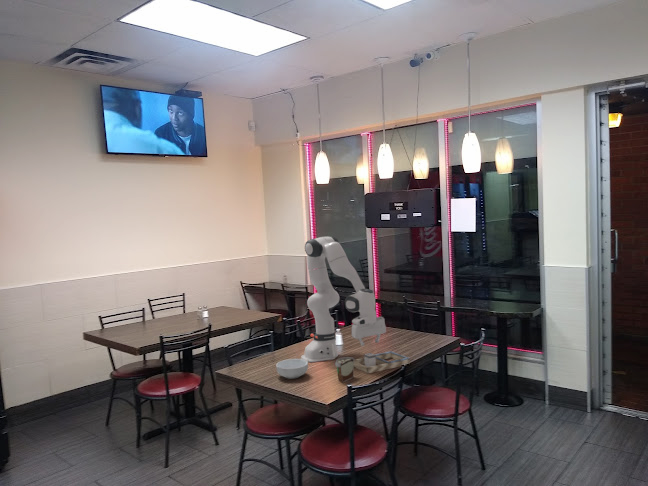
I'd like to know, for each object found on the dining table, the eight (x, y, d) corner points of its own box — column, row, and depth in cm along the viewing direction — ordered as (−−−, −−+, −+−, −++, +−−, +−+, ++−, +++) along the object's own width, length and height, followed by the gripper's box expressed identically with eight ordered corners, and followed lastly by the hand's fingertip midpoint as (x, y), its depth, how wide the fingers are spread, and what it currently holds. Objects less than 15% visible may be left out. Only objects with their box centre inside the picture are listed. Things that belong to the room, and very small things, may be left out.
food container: (345, 374, 254) (344, 355, 253) (355, 376, 250) (354, 357, 250) (331, 381, 244) (330, 361, 244) (340, 383, 241) (339, 363, 240)
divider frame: (367, 373, 253) (367, 367, 253) (351, 365, 269) (351, 359, 268) (409, 364, 265) (409, 358, 265) (391, 357, 281) (391, 351, 281)
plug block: (369, 369, 261) (369, 356, 260) (364, 366, 265) (364, 354, 265) (376, 367, 263) (375, 355, 262) (371, 365, 267) (370, 352, 267)
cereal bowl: (270, 377, 255) (269, 364, 255) (294, 369, 267) (293, 356, 267) (291, 384, 243) (290, 370, 243) (315, 375, 255) (314, 362, 254)
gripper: (381, 315, 270) (382, 339, 271) (349, 320, 261) (351, 346, 261) (387, 316, 264) (389, 341, 265) (355, 322, 255) (357, 348, 256)
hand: (369, 343), depth 263 cm, fingers open, 8 cm apart
